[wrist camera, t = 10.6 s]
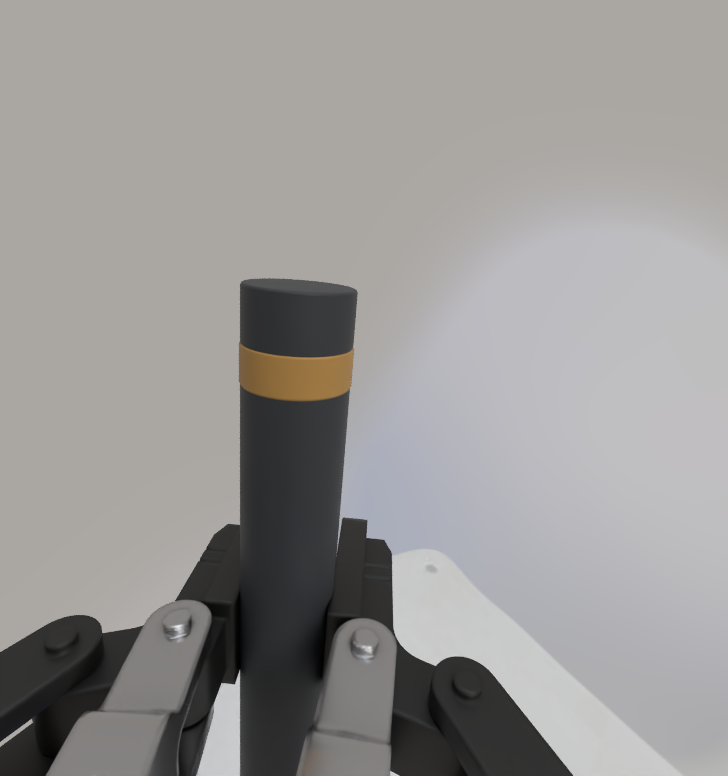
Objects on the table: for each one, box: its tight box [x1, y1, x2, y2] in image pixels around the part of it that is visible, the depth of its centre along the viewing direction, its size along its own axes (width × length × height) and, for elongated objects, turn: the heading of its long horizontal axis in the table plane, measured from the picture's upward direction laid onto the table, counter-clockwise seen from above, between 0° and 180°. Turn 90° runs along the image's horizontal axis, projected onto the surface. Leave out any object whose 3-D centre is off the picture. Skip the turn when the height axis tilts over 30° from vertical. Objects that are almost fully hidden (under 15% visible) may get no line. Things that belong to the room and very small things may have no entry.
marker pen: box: [239, 279, 357, 776], centre depth 10 cm, size 2×2×16 cm
